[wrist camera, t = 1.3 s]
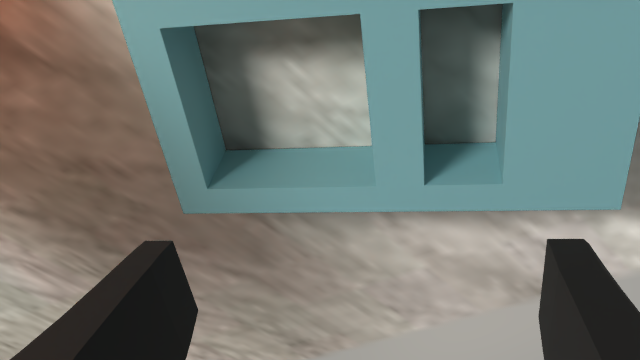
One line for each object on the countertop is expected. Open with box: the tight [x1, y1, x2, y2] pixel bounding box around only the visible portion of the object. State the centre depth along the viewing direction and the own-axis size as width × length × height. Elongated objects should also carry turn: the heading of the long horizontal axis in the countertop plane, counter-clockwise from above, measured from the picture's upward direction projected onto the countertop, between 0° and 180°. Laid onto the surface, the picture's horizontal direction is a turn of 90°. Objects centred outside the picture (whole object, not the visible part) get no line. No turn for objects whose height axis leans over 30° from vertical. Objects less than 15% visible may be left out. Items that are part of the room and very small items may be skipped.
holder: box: [112, 0, 640, 214], centre depth 19 cm, size 15×8×2 cm, turn 97°
